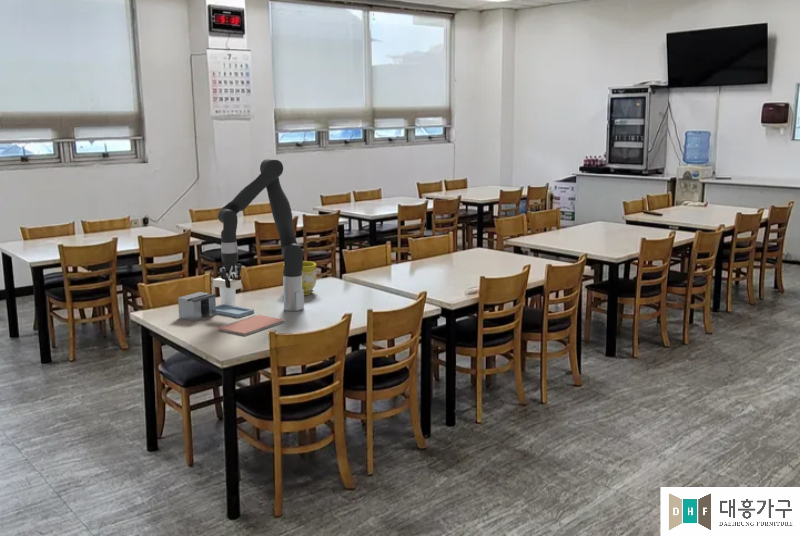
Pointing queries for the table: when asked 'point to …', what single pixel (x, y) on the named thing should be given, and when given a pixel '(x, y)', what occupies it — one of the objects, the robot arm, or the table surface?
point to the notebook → (251, 324)
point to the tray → (233, 310)
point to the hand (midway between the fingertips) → (231, 286)
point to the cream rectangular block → (221, 283)
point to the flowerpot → (308, 276)
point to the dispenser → (196, 306)
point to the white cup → (227, 296)
